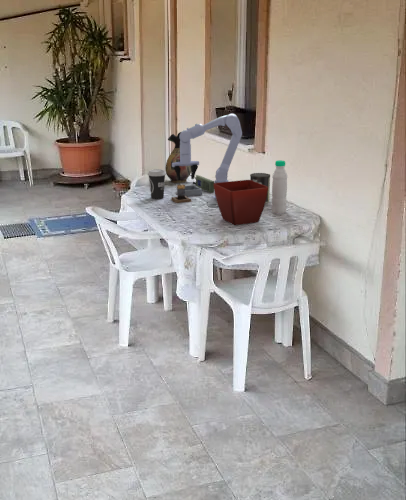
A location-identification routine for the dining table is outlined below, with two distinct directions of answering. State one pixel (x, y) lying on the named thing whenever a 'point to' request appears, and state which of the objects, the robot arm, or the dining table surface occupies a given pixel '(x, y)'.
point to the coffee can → (262, 181)
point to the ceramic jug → (174, 158)
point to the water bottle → (279, 188)
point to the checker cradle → (181, 200)
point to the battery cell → (180, 192)
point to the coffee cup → (157, 183)
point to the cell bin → (192, 190)
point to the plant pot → (241, 201)
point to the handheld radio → (204, 184)
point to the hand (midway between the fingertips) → (185, 179)
